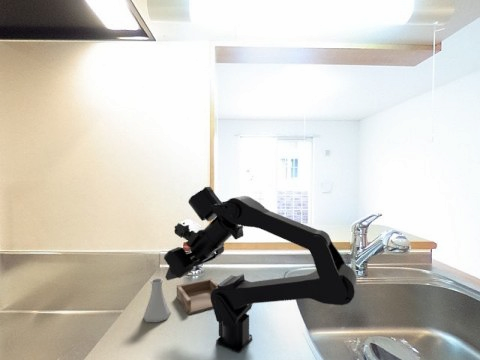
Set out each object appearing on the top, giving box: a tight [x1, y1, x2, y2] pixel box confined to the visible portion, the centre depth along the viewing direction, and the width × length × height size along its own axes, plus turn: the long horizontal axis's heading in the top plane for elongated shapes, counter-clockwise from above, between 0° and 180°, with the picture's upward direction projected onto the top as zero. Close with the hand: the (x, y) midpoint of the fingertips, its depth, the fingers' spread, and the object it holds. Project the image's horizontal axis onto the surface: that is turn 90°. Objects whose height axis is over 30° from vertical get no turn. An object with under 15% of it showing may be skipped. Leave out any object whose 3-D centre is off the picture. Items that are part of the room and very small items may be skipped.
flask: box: [143, 277, 171, 323], centre depth 72 cm, size 7×7×10 cm
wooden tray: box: [176, 277, 219, 316], centre depth 81 cm, size 12×12×4 cm
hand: (178, 272), depth 68 cm, fingers open, 9 cm apart
